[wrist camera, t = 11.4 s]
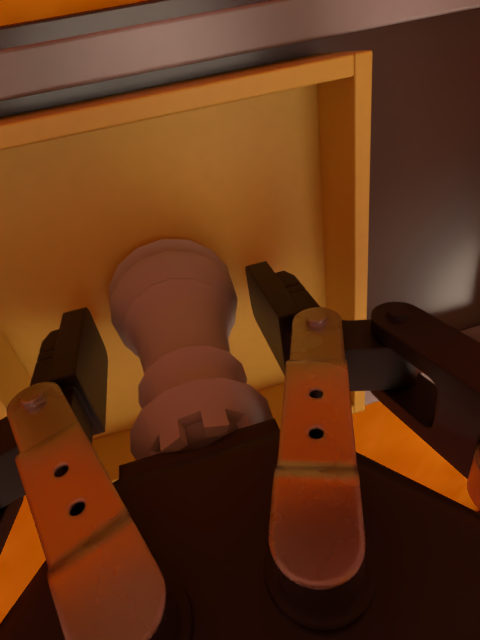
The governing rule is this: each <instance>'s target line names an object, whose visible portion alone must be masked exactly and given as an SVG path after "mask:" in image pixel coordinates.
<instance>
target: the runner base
mask: <svg viewBox="0 0 480 640" xmlns="http://www.w3.org/2000/svg"><path fill="white" fill-rule="evenodd" d="M362 50H371V51H372V94H371V140H370V186H369V232H368V278H367V319H371V312H372V310H373V309H374V308H375V307H376V306H378V305H380V304H383V303H387V302H405V303H409V304H412V305H414V306H416V307H418V308H420V309H422V310H423V311H425V312H427V313H429V314H430V315H432V316H434V317H436V318H437V319H439V320H441V321H443V322H445V323H446V324H448V325H450V326H452V327H453V328H455V329H457V330H459V331H460V332H462V333H464V334H466V335H467V336H469V337H471V338H473V339H474V340H476V341H478V342H480V0H148V1H143V2H137V3H131V4H126V5H120V6H114V7H108V8H103V9H97V10H91V11H86V12H80V13H74V14H68V15H63V16H57V17H51V18H46V19H40V20H34V21H28V22H23V23H17V24H11V25H6V26H0V117H3V116H8V115H13V114H18V113H23V112H28V111H33V110H38V109H43V108H48V107H53V106H58V105H63V104H68V103H73V102H78V101H83V100H88V99H93V98H98V97H103V96H108V95H113V94H118V93H123V92H128V91H133V90H138V89H143V88H148V87H153V86H158V85H163V84H168V83H173V82H178V81H183V80H188V79H193V78H198V77H203V76H208V75H213V74H218V73H223V72H228V71H233V70H238V69H243V68H248V67H253V66H258V65H263V64H268V63H273V62H278V61H283V60H288V59H293V58H298V57H303V56H308V55H313V54H318V53H326V52H328V53H329V52H344V51H362ZM418 372H419V373H420V374H421V375H423V376H424V377H426V378H427V379H428V380H430V381H431V382H432V383H434V382H433V381H432V380H431V379H430V378H429V377H428V376H427V375H425V374H424V373H423V372H421V371H420V370H418ZM377 401H379V400H378V399H377V398H376V397H375V396H374V395H373V394H372V393H371V392H370V391H365V405H367V404H370V403H374V402H377Z"/></svg>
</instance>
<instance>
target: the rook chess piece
mask: <svg viewBox="0 0 480 640" xmlns="http://www.w3.org/2000/svg"><path fill="white" fill-rule="evenodd" d="M237 300H238V298H237V295H236V292H235V289H234V286H233V283H232V279H231V276H230V273H229V270H228V267H227V266H226V264H225V263H224V262H223V261H222V260H221V259H220V258H219V257H218V256H217V255H216V254H215V253H214V252H213V251H212V250H211V249H209V248H207V247H204V246H202V245H200V244H198V243H195V242H193V241H191V240H181V239H161V240H158V241H155V242H153V243H150V244H147V245H144V246H141V247H139V248H137V249H136V250H134V251H133V252H132V253H131V254H130V255H129V256H128V257H127V258H126V259H124V260H123V261H122V262H121V263H120V264H119V265H118V267H117V269H116V271H115V274H114V276H113V278H112V280H111V283H110V285H109V304H110V311H111V322H112V324H113V326H114V328H115V329H116V331H117V333H118V335H119V337H120V338H121V340H122V342H123V344H124V345H125V347H127V348H128V349H130V350H131V351H132V352H133V353H134V354H135V355H136V356H137V357H139V358H140V362H141V365H142V368H143V371H144V376H143V378H142V380H141V382H140V383H139V385H138V403H139V405H140V406H141V408H142V410H141V412H140V413H139V415H138V417H137V419H136V421H135V423H134V425H133V426H132V428H131V430H130V452H131V453H132V455H133V456H134V458H135V459H136V460H139V459H142V458H145V457H149V456H152V455H155V454H159V453H170V452H181V451H192V450H200V449H202V448H205V447H206V446H208V445H210V444H212V443H214V442H215V441H217V440H219V439H221V438H223V437H225V436H226V435H228V434H230V433H232V432H234V431H236V430H237V429H240V428H244V427H247V426H250V425H253V424H257V423H260V422H263V421H267V420H270V419H273V416H272V413H271V410H270V407H269V404H268V401H267V399H266V398H265V397H264V396H262V395H261V394H260V393H259V392H258V391H257V390H255V389H254V388H253V387H252V386H251V385H248V384H246V383H247V377H246V374H245V371H244V368H243V365H242V363H241V362H239V361H238V360H237V359H236V358H235V357H234V356H233V355H232V354H230V347H229V340H228V338H229V336H230V334H231V330H232V328H233V326H234V325H235V317H236V310H237Z"/></svg>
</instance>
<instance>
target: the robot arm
mask: <svg viewBox="0 0 480 640" xmlns="http://www.w3.org/2000/svg"><path fill="white" fill-rule="evenodd" d="M245 272H246V278H247V284H248V290H249V296H250V302H251V307H252V311H253V315H254V318H255V320H256V322H257V324H258V326H259V328H260V330H261V332H262V334H263V336H264V338H265V339H266V341H267V343H268V345H269V347H270V349H271V351H272V353H273V355H274V357H275V359H276V360H277V362H278V364H279V366H280V368H281V370H282V372H283V374H284V376H285V380H284V392H283V404H282V416H281V427H280V429H279V427H278V424H277V422H276V420H275V418H273V419H270V420H267V421H263V422H260V423H257V424H253V425H250V426H247V427H244V428H240V429H237V430H236V431H234V432H232V433H230V434H228V435H226V436H225V437H223V438H221V439H219V440H217V441H215V442H214V443H212V444H210V445H208V446H206V447H205V448H202V449H200V450H192V451H181V452H170V453H159V454H155V455H152V456H149V457H145V458H142V459H139V460H136V461H132V462H129V463H126V464H123V465H119V479H118V480H116V481H115V482H112V480H111V478H110V477H109V475H108V473H107V471H106V469H105V468H104V466H103V464H102V462H101V460H100V459H99V457H98V455H97V453H96V451H95V450H94V448H93V446H92V438H93V435H97V434H100V433H104V432H105V424H106V401H107V378H108V356H107V351H106V348H105V345H104V342H103V340H102V338H101V336H100V333H99V331H98V329H97V327H96V324H95V322H94V320H93V317H92V315H91V313H90V311H89V309H88V308H87V307H84V308H80V309H76V310H72V311H69V312H65V313H63V315H62V319H61V323H60V328H59V329H58V330H54V331H51V332H50V333H49V334H48V335H47V337H46V338H45V339H44V340H43V341H42V344H41V347H40V351H39V353H40V354H38V358H37V363H36V365H35V368H34V372H33V375H32V379H31V383H30V386H29V387H27V388H25V389H24V390H22V391H21V392H19V393H18V394H17V395H16V396H15V397H14V398H13V399H12V400H11V401H10V402H9V404H8V406H7V409H6V413H7V416H6V417H4V418H3V419H1V420H0V554H1V552H2V549H3V547H4V545H5V542H6V540H7V538H8V535H9V533H10V530H11V528H12V526H13V523H14V521H15V519H16V516H17V514H18V511H19V509H20V507H21V504H22V502H23V497H24V495H26V497H27V500H28V503H29V507H30V510H31V513H32V516H33V519H34V523H35V526H36V529H37V532H38V535H39V538H40V542H41V545H42V548H43V551H44V554H45V558H46V561H45V562H44V563H43V565H42V566H41V568H40V569H39V570H38V572H37V573H36V575H35V576H34V577H33V579H32V580H31V582H30V583H29V584H28V586H27V587H26V589H25V590H24V591H23V593H22V594H21V596H20V597H19V598H18V600H17V601H16V603H15V604H14V605H13V607H12V608H11V610H10V611H9V612H8V614H7V615H6V617H5V618H4V619H3V621H2V622H1V624H0V640H480V513H478V512H476V511H474V510H472V509H470V508H468V507H466V506H464V505H462V504H460V503H458V502H456V501H454V500H452V499H450V498H448V497H446V496H443V495H441V494H439V493H437V492H435V491H433V490H431V489H429V488H427V487H425V486H423V485H421V484H419V483H417V482H415V481H413V480H411V479H409V478H407V477H405V476H403V475H401V474H399V473H397V472H395V471H393V470H391V469H389V468H387V467H385V466H383V465H381V464H379V463H377V462H375V461H373V460H371V459H369V458H367V457H365V456H363V455H361V454H359V453H357V452H356V450H355V440H354V430H353V419H352V409H351V398H350V391H370V392H371V393H372V394H373V395H374V396H375V397H376V398H377V399H378V400H379V401H380V402H381V403H383V404H384V405H385V406H386V407H387V408H388V409H389V410H390V411H391V412H393V413H394V414H395V415H396V416H397V417H398V418H399V419H400V420H402V421H403V422H404V423H405V424H406V425H407V426H408V427H409V428H411V429H412V430H413V431H414V432H415V433H416V434H417V435H418V436H420V437H421V438H422V439H423V440H424V441H425V442H426V443H427V444H429V445H430V446H431V447H432V448H433V449H434V450H435V451H436V452H438V453H439V454H440V455H441V456H442V457H443V458H444V459H445V460H447V461H448V462H449V463H450V464H451V465H452V466H453V467H454V468H456V469H457V470H458V471H459V472H460V473H461V474H462V475H463V476H465V477H466V478H467V479H468V481H467V489H468V493H469V495H470V497H471V499H472V501H473V502H474V503H475V505H476V506H477V507H478V508H479V509H480V342H478V341H476V340H474V339H473V338H471V337H469V336H467V335H466V334H464V333H462V332H460V331H459V330H457V329H455V328H453V327H452V326H450V325H448V324H446V323H445V322H443V321H441V320H439V319H437V318H436V317H434V316H432V315H430V314H429V313H427V312H425V311H423V310H422V309H420V308H418V307H416V306H414V305H412V304H409V303H405V302H387V303H383V304H380V305H378V306H376V307H375V308H374V309H373V310H372V312H371V319H367V320H342V319H341V316H340V315H339V314H338V313H337V312H336V311H334V310H332V309H329V308H323V307H320V306H319V305H318V303H317V302H316V301H315V300H314V298H313V297H312V296H311V295H310V294H309V292H308V291H307V290H306V289H305V287H304V286H303V285H302V284H301V283H300V281H299V280H298V279H297V278H296V276H295V275H293V274H290V273H288V272H286V271H280V272H276V273H275V272H274V271H273V269H272V268H271V267H270V265H269V264H268V263H267V261H263V262H260V263H256V264H252V265H248V266H245ZM418 370H420V371H421V372H423V373H424V374H425V375H427V376H428V377H429V378H430V379H431V380H432V381H433V382H434V383H432V382H431V381H430V380H428V379H427V378H426V377H424V376H423V375H421V374H420V373H419V372H418Z"/></svg>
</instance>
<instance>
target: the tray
mask: <svg viewBox="0 0 480 640" xmlns="http://www.w3.org/2000/svg"><path fill="white" fill-rule="evenodd" d="M371 94H372V51H371V50H362V51H344V52H329V53H328V52H326V53H318V54H313V55H308V56H303V57H298V58H293V59H288V60H283V61H278V62H273V63H268V64H263V65H258V66H253V67H248V68H243V69H238V70H233V71H228V72H223V73H218V74H213V75H208V76H203V77H198V78H193V79H188V80H183V81H178V82H173V83H168V84H163V85H158V86H153V87H148V88H143V89H138V90H133V91H128V92H123V93H118V94H113V95H108V96H103V97H98V98H93V99H88V100H83V101H78V102H73V103H68V104H63V105H58V106H53V107H48V108H43V109H38V110H33V111H28V112H23V113H18V114H13V115H8V116H3V117H0V420H1V419H3V418H4V417H6V416H7V413H6V409H7V406H8V404H9V402H10V401H11V400H12V399H13V398H14V397H15V396H16V395H17V394H18V393H19V392H21V391H22V390H24V389H25V388H27V387H29V386H30V383H31V379H32V375H33V372H34V368H35V365H36V363H37V358H38V354H40V353H39V351H40V347H41V344H42V341H43V340H44V339H45V338H46V337H47V335H48V334H49V333H50V332H51V331H54V330H58V329H59V328H60V323H61V319H62V315H63V313H65V312H69V311H72V310H76V309H80V308H84V307H87V308H88V309H89V311H90V313H91V315H92V317H93V320H94V322H95V324H96V327H97V329H98V331H99V333H100V336H101V338H102V340H103V342H104V345H105V348H106V351H107V356H108V378H107V401H106V424H105V432H104V433H100V434H97V435H93V438H92V446H93V448H94V450H95V451H96V453H97V455H98V457H99V459H100V460H101V462H102V464H103V466H104V468H105V469H106V471H107V473H108V475H109V477H110V478H111V480H112V482H115V481H116V480H118V479H119V465H123V464H126V463H129V462H132V461H136V459H135V458H134V456H133V455H132V453H131V452H130V430H131V428H132V426H133V425H134V423H135V421H136V419H137V417H138V415H139V413H140V412H141V410H142V408H141V406H140V405H139V403H138V385H139V383H140V382H141V380H142V378H143V376H144V371H143V368H142V365H141V362H140V358H139V357H137V356H136V355H135V354H134V353H133V352H132V351H131V350H130V349H128V348H127V347H125V345H124V344H123V342H122V340H121V338H120V337H119V335H118V333H117V331H116V329H115V328H114V326H113V324H112V322H111V311H110V304H109V285H110V283H111V280H112V278H113V276H114V274H115V271H116V269H117V267H118V265H119V264H120V263H121V262H122V261H123V260H124V259H126V258H127V257H128V256H129V255H130V254H131V253H132V252H133V251H134V250H136V249H137V248H139V247H141V246H144V245H147V244H150V243H153V242H155V241H158V240H161V239H181V240H191V241H193V242H195V243H198V244H200V245H202V246H204V247H207V248H209V249H211V250H212V251H213V252H214V253H215V254H216V255H217V256H218V257H219V258H220V259H221V260H222V261H223V262H224V263H225V264H226V266H227V267H228V270H229V273H230V276H231V279H232V283H233V286H234V289H235V292H236V295H237V298H238V300H237V310H236V317H235V325H234V326H233V328H232V330H231V334H230V336H229V338H228V340H229V347H230V354H232V355H233V356H234V357H235V358H236V359H237V360H238V361H239V362H241V363H242V365H243V368H244V371H245V374H246V377H247V383H246V384H248V385H251V386H252V387H253V388H254V389H255V390H257V391H258V392H259V393H260V394H261V395H262V396H264V397H265V398H266V399H267V401H268V404H269V407H270V410H271V413H272V416H273V418H275V420H276V422H277V424H278V427H279V429H280V427H281V416H282V404H283V392H284V380H285V376H284V374H283V372H282V370H281V368H280V366H279V364H278V362H277V360H276V359H275V357H274V355H273V353H272V351H271V349H270V347H269V345H268V343H267V341H266V339H265V338H264V336H263V334H262V332H261V330H260V328H259V326H258V324H257V322H256V320H255V318H254V315H253V311H252V307H251V302H250V296H249V290H248V284H247V278H246V272H245V266H248V265H252V264H256V263H260V262H263V261H267V263H268V264H269V265H270V267H271V268H272V269H273V271H274V272H275V273H276V272H280V271H286V272H288V273H290V274H293V275H295V276H296V278H297V279H298V280H299V281H300V283H301V284H302V285H303V286H304V287H305V289H306V290H307V291H308V292H309V294H310V295H311V296H312V297H313V298H314V300H315V301H316V302H317V303H318V305H319V306H320V307H323V308H329V309H332V310H334V311H336V312H337V313H338V314H339V315H340V316H341V319H342V320H367V278H368V232H369V186H370V140H371ZM350 398H351V409H352V414H353V413H357V412H361V411H364V410H365V391H350Z"/></svg>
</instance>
